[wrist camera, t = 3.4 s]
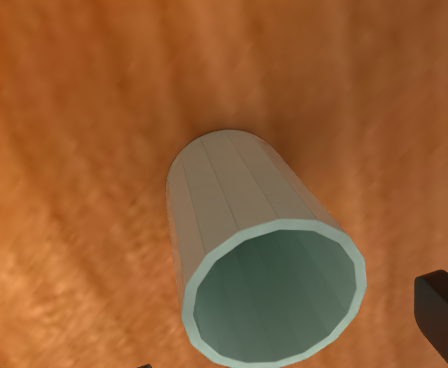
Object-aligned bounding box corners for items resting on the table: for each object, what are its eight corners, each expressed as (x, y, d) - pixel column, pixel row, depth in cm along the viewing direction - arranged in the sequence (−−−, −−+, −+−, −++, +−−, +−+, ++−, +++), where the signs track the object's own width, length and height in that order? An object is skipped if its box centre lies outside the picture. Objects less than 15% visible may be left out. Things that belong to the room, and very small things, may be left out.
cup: (272, 114, 20) (359, 193, 12) (291, 218, 23) (371, 337, 15) (149, 150, 20) (156, 256, 12) (184, 251, 23) (209, 392, 15)
